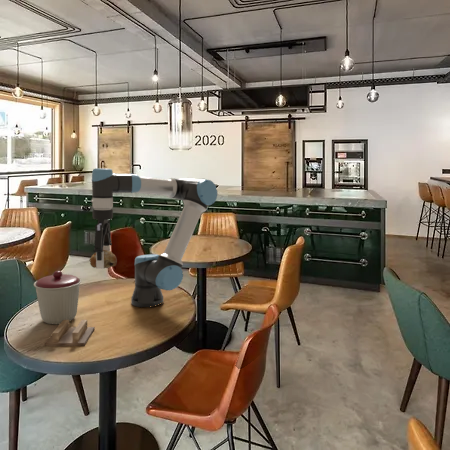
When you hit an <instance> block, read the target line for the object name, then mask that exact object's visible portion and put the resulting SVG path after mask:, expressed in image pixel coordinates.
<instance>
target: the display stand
mask: <svg viewBox="0 0 450 450" xmlns="http://www.w3.org/2000/svg"><path fill="white" fill-rule="evenodd" d="M95 329H96V328H95V326H88V319H81V321H80V322H79V323H78V324H77V326H70V321H69V320H63V321H62V322H61V323H60V324H58V326H57V327H56V328H55V330H53V332H52V334H51V335H50V336H49V337H48V338H47V340H45V342H44V346H45V347H51V346H52V347H54V346H55V347H56V346H57V347H59V346H60V347H61V346H66V347H69V346H70V347H71V346H73V347H75V346H77V347H78V346H80V347H81V346H84V347H85V345H86V344H87V343H88V341H89V340H90V338H91V336H92V334H93V333H94V331H95Z"/></svg>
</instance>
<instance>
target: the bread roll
mask: <svg viewBox="0 0 450 450" xmlns="http://www.w3.org/2000/svg"><path fill="white" fill-rule="evenodd" d="M103 251H104V269H109V268H111V267H112V268H113V267H115V266H117V263H118V259H117V256H116V255H115V254H114V253H113V252H112V251H111V250H110V251H107V250H103ZM89 264H90V266H91V267H92V268H93V269H96V252H94V253H93V254H92V255H91V257H90V258H89Z"/></svg>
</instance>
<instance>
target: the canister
mask: <svg viewBox="0 0 450 450" xmlns="http://www.w3.org/2000/svg"><path fill="white" fill-rule="evenodd" d="M81 283H82V279H81V278H80V277H78V276H76V275H73V274H67V273H66V274H65V273H63V272H62V271H61V270H55V271H54V272H53V273H52V275H47V276H43V277H41V278H39V279H37V280H36V281H34V283H33V287H34V288H35V291H36V299H37V304H38V308H39V314H40V317H41V320H42V321H43V322H44V323H46V324H49V325H60V323H61V322H62V321H63V320H69V322H72V321H73V320H74V319H75V318H76V316H77V313H78V305H79V295H80V284H81Z"/></svg>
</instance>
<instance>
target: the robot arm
mask: <svg viewBox="0 0 450 450" xmlns="http://www.w3.org/2000/svg"><path fill="white" fill-rule="evenodd" d="M91 172H92V173H91V188H92V189H91V193H92V198H91V200H90V201H91V203H92V208H93V209H92V219H93V220H97V224H95V226H94V227H95V229H94V230H95V233H94V248H93V253H96V268H95V269H102V270H103V269H105V268H104V251H103V250H107V251H111V246H113V243H112V236H111V220H112V219H113V218H114V210H113V208H114V197H113V194H117V193H118V194H133V193H134V194H145V195H155V196H156V195H157V196H166V197H167V198H168V199H175V200H179V201H182V202H183V207H182V211H181V212H180V215H179V217H178V220H177V222H176V224H175V226H174V229H173V231H172V233H171V236H170V238H169V240H168V243H167V244H166V247H165V250H164V252H163V253H161V254H157V253H156V254H153V253H152V254H151V253H150V254H141V255H138V256H136V257H135V259H134V289H133V293H132V295H131V298H130V301H131V302H130V303H131V305H132V306H134V307H137V308H142V307H149V308H151V307H150V306H155V305H158V304H160V303H162V302H163V303H164V295H163V291H162V290H164V291H173V290H175V289H176V288H178V287H179V286H180V285H181V283H182V281H183V279H184V274H183V272H184V271H183V270H182V268H183V266H184V263H183V261H182V260H183V257H184V254H185V253H186V250H187V249H188V248H187V247H188V245H189V243H190V241H191V238H192V236H193V234H194V232H195V229H196V227H197V224H198V222H199V219H200V217H201V215H202V213H205V212H206V211H207V210H208V206H211V205H213V204H214V203H215V202H217V201H216V200H217V198H218V189H217V185H216V184H215V182H213V181H212V180H211V179H206V178H193V177H184V178H183V177H182V178H176V177H175V178H173V177H171V178H168V179H165V178H164V179H162V178H157V177H156V178H154V177H147V176H139V175H138V174H136V173H135V174H134V173H115V172H113V169H112V168H96V167H95V168H93V169H92V171H91ZM163 303H162V304H163Z"/></svg>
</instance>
